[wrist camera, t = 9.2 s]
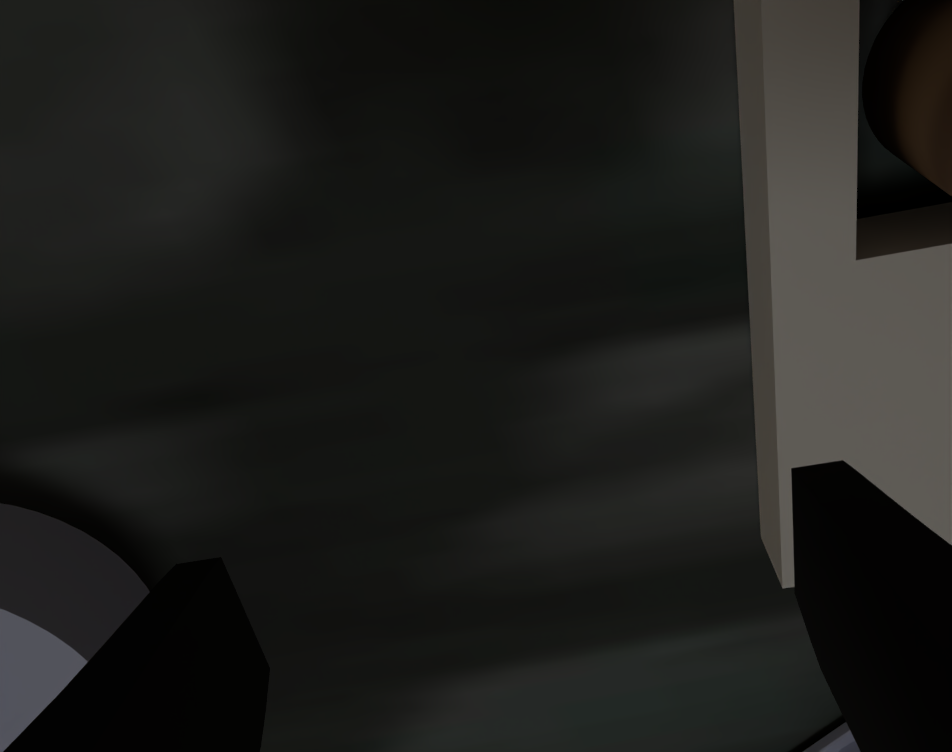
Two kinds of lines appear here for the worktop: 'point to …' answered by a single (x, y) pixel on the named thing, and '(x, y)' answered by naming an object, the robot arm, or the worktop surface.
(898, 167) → the worktop surface
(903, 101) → the walnut pin
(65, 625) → the wedge on round base
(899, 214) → the peg board
